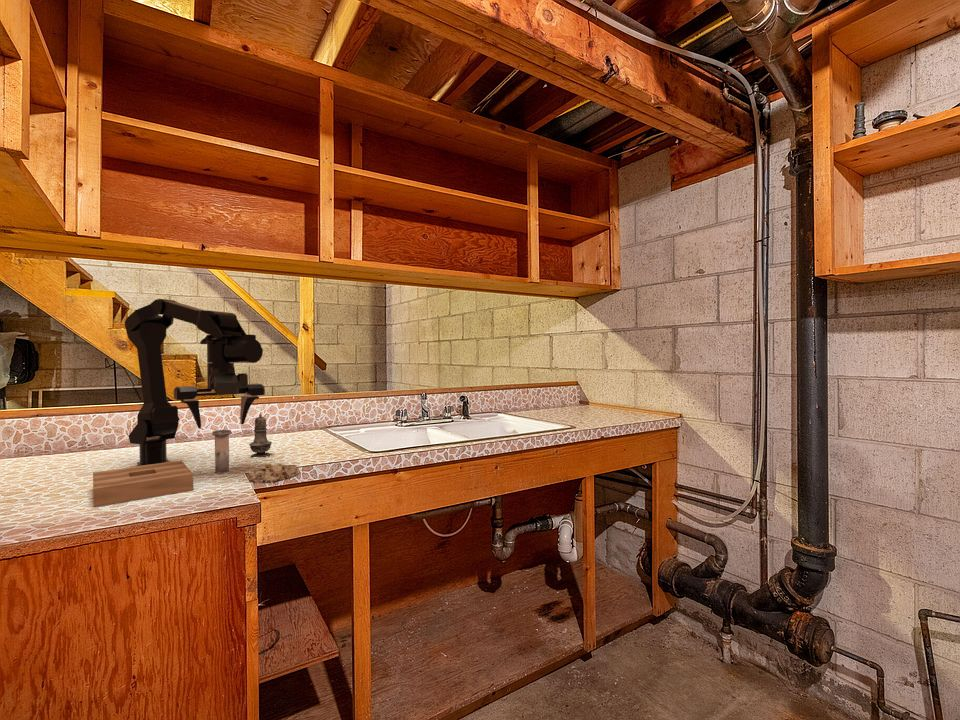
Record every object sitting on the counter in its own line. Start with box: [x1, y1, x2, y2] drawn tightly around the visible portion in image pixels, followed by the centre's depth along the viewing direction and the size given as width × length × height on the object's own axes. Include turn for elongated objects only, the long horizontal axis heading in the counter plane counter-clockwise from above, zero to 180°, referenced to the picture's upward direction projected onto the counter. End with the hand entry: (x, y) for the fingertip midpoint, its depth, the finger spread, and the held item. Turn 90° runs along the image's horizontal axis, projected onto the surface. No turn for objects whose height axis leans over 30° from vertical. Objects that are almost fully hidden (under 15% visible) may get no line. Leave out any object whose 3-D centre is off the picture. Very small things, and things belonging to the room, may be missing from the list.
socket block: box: [92, 460, 194, 508], centre depth 96 cm, size 16×16×4 cm
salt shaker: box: [248, 413, 273, 458], centre depth 127 cm, size 6×6×12 cm
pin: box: [211, 429, 232, 474], centre depth 110 cm, size 4×4×10 cm
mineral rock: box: [247, 463, 299, 484], centre depth 104 cm, size 11×4×8 cm
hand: (221, 426), depth 110 cm, fingers open, 9 cm apart
